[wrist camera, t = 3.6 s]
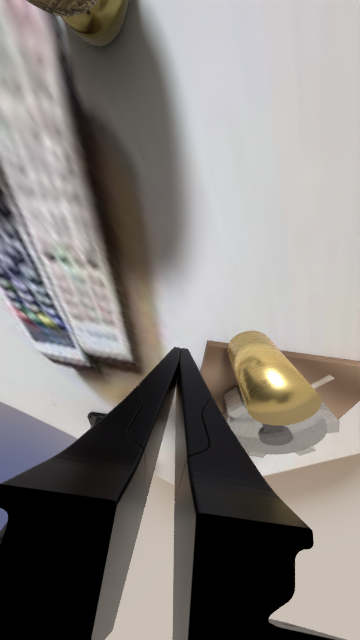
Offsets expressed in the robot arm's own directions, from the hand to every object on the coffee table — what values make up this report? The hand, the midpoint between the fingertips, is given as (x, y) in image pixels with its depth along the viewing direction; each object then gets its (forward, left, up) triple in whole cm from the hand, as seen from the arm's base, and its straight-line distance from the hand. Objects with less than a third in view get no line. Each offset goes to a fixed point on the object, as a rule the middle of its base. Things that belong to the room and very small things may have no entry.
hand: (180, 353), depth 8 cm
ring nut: (-7, -9, -3) cm, 11 cm away
